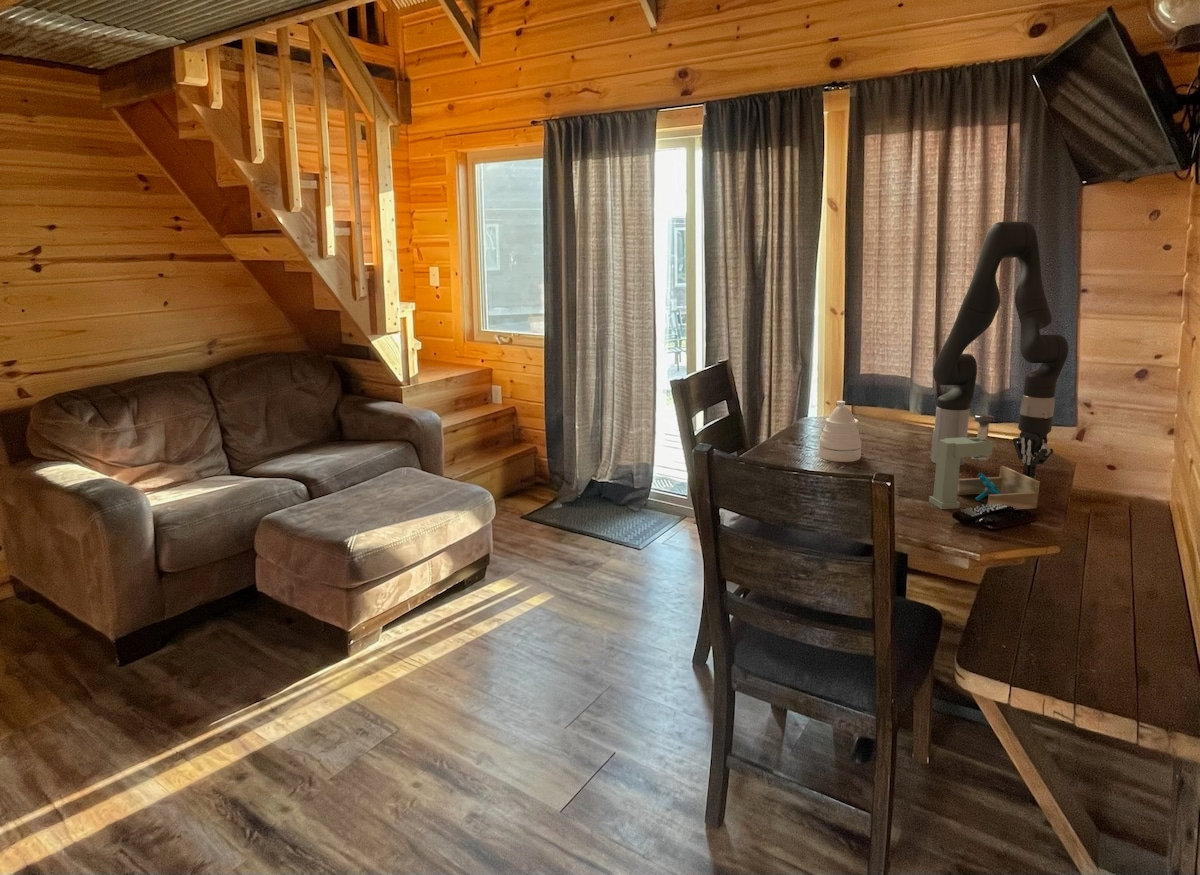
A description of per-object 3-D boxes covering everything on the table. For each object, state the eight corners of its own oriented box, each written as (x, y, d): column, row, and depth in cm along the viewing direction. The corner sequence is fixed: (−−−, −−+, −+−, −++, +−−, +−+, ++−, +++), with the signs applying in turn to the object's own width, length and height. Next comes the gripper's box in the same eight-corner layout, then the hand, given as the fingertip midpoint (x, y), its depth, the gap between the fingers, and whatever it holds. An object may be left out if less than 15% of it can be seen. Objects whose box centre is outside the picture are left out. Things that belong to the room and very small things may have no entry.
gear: (1009, 504, 202) (981, 473, 204) (989, 518, 204) (961, 487, 207) (1010, 497, 212) (983, 468, 214) (990, 511, 214) (964, 481, 217)
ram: (966, 456, 207) (971, 414, 205) (982, 456, 208) (987, 413, 205) (977, 461, 203) (981, 418, 200) (993, 460, 204) (997, 417, 201)
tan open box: (956, 493, 215) (959, 468, 213) (1001, 490, 217) (1004, 465, 215) (989, 511, 201) (992, 484, 200) (1036, 508, 203) (1040, 481, 201)
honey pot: (853, 464, 245) (857, 406, 240) (812, 458, 252) (815, 402, 247) (865, 454, 255) (869, 398, 251) (825, 449, 262) (828, 394, 258)
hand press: (928, 501, 210) (934, 438, 206) (973, 498, 212) (980, 436, 207) (941, 509, 204) (947, 444, 200) (987, 506, 206) (994, 442, 202)
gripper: (1006, 408, 211) (999, 471, 215) (1040, 419, 198) (1032, 486, 202) (1032, 407, 212) (1024, 470, 216) (1068, 418, 199) (1059, 484, 203)
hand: (1028, 477), depth 209 cm, fingers closed
